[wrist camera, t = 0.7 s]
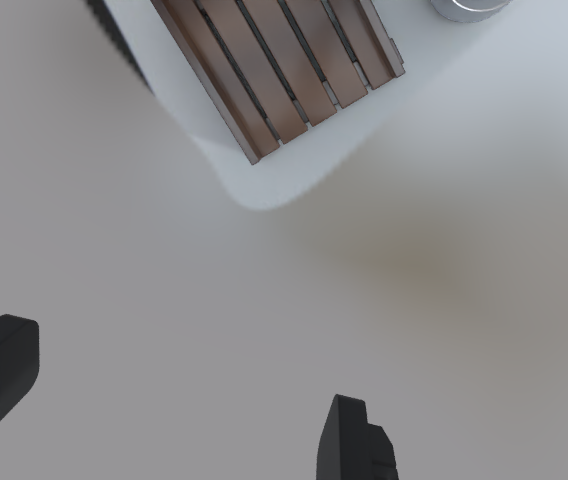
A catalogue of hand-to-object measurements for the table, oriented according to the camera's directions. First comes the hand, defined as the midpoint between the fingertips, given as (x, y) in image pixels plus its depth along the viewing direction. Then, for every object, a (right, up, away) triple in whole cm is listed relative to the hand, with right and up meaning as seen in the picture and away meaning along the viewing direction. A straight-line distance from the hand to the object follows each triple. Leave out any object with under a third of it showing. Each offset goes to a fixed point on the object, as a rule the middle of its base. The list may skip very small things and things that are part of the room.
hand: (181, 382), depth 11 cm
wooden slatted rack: (+3, +20, +21) cm, 29 cm away
